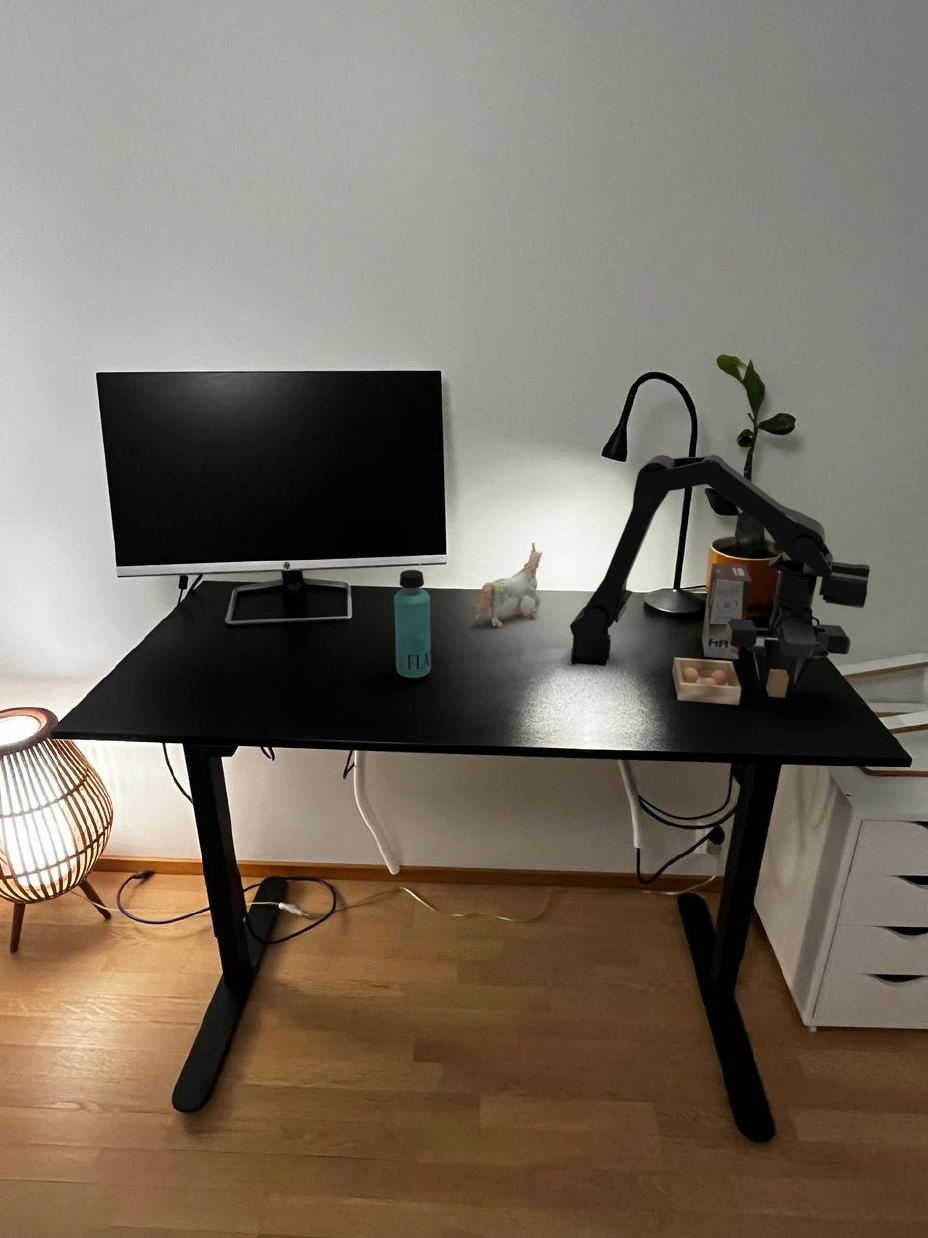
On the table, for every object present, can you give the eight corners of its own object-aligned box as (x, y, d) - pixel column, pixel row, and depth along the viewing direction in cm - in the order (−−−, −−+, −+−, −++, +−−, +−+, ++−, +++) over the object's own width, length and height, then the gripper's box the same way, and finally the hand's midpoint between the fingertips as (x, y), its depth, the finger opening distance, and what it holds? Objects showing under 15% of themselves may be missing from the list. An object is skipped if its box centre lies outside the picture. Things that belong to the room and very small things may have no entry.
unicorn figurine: (557, 608, 173) (560, 549, 167) (499, 638, 160) (501, 575, 154) (530, 600, 177) (533, 542, 172) (472, 627, 164) (473, 566, 158)
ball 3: (710, 688, 141) (713, 674, 140) (708, 680, 143) (710, 666, 142) (727, 689, 140) (729, 675, 139) (725, 682, 143) (727, 668, 142)
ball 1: (681, 685, 142) (683, 671, 140) (680, 678, 144) (682, 664, 143) (698, 687, 141) (700, 672, 140) (696, 679, 144) (698, 665, 143)
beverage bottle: (404, 689, 141) (401, 582, 133) (389, 672, 146) (386, 569, 138) (438, 681, 144) (437, 575, 135) (422, 665, 149) (421, 563, 141)
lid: (748, 711, 136) (753, 685, 134) (738, 682, 145) (742, 657, 143) (813, 716, 135) (819, 690, 132) (798, 686, 144) (803, 661, 142)
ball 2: (700, 696, 138) (702, 682, 137) (698, 688, 141) (700, 674, 140) (717, 697, 138) (719, 683, 137) (715, 689, 140) (717, 675, 139)
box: (677, 702, 137) (679, 684, 136) (672, 674, 146) (674, 657, 145) (738, 707, 136) (741, 688, 135) (729, 678, 145) (731, 661, 144)
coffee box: (739, 661, 151) (752, 581, 144) (703, 658, 152) (715, 578, 146) (734, 640, 159) (746, 564, 153) (700, 637, 160) (711, 561, 154)
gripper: (743, 613, 126) (729, 700, 132) (869, 621, 124) (848, 709, 130) (732, 586, 136) (719, 668, 142) (848, 593, 134) (830, 676, 140)
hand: (777, 680), depth 138 cm, fingers open, 6 cm apart
